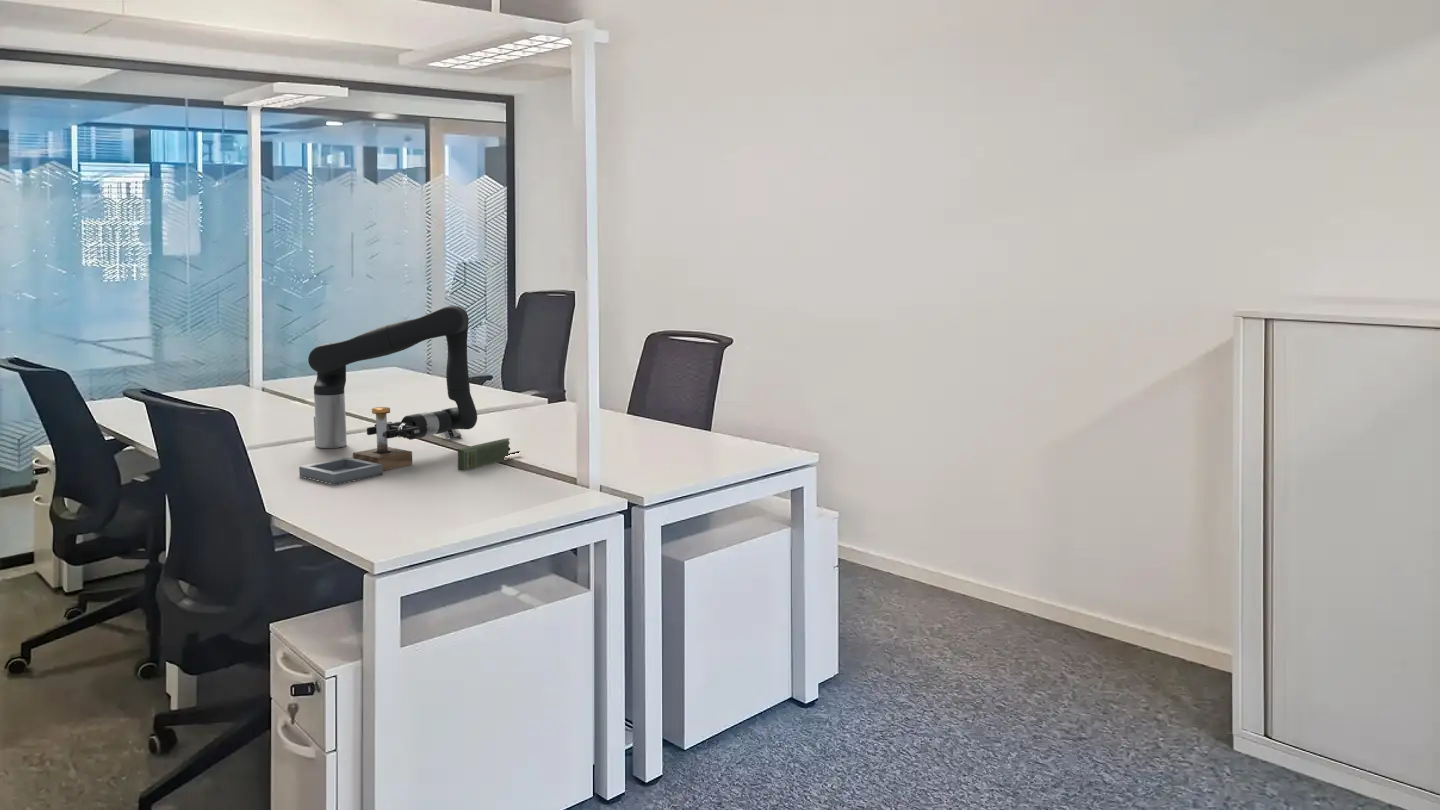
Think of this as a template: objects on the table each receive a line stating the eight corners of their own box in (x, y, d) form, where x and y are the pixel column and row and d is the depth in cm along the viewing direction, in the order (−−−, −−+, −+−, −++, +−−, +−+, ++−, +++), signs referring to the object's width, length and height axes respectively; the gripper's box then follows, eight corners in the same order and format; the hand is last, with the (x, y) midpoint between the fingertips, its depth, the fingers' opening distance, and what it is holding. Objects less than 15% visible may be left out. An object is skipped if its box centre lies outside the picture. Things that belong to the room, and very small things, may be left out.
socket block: (353, 465, 318) (352, 452, 318) (386, 459, 328) (386, 446, 327) (379, 471, 311) (378, 458, 311) (412, 464, 321) (412, 451, 321)
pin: (370, 465, 319) (368, 408, 316) (384, 462, 323) (382, 406, 320) (381, 467, 316) (379, 410, 313) (395, 464, 320) (393, 408, 318)
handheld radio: (456, 470, 316) (515, 456, 336) (463, 472, 314) (523, 457, 335) (456, 448, 314) (515, 435, 335) (464, 450, 313) (523, 436, 333)
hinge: (462, 438, 361) (451, 411, 359) (449, 444, 360) (438, 416, 358) (457, 429, 377) (446, 403, 374) (444, 434, 376) (433, 408, 373)
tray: (299, 476, 304) (299, 466, 303) (347, 467, 317) (347, 457, 316) (334, 485, 295) (334, 474, 294) (382, 474, 308) (382, 464, 307)
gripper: (404, 411, 333) (360, 418, 320) (435, 416, 325) (391, 423, 312) (405, 434, 334) (361, 442, 321) (436, 440, 326) (392, 448, 313)
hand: (376, 433), depth 317 cm, fingers open, 8 cm apart
